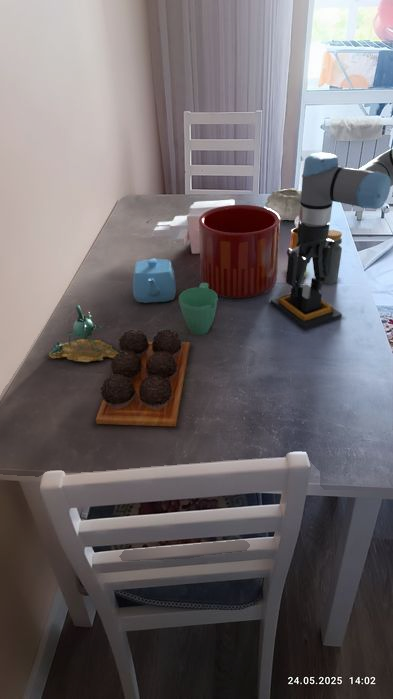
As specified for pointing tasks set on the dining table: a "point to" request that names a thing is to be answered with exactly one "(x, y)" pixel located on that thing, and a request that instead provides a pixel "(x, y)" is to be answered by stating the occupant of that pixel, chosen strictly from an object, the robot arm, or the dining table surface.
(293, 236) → the vase
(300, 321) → the base
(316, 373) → the dining table surface
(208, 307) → the mug
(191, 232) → the white stepped block
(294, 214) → the decorative shell
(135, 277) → the teapot
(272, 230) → the planter
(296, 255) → the robot arm
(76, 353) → the cartoon bug character
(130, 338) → the chocolate muffin tray
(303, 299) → the black rectangular block
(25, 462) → the dining table surface
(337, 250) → the bottle
